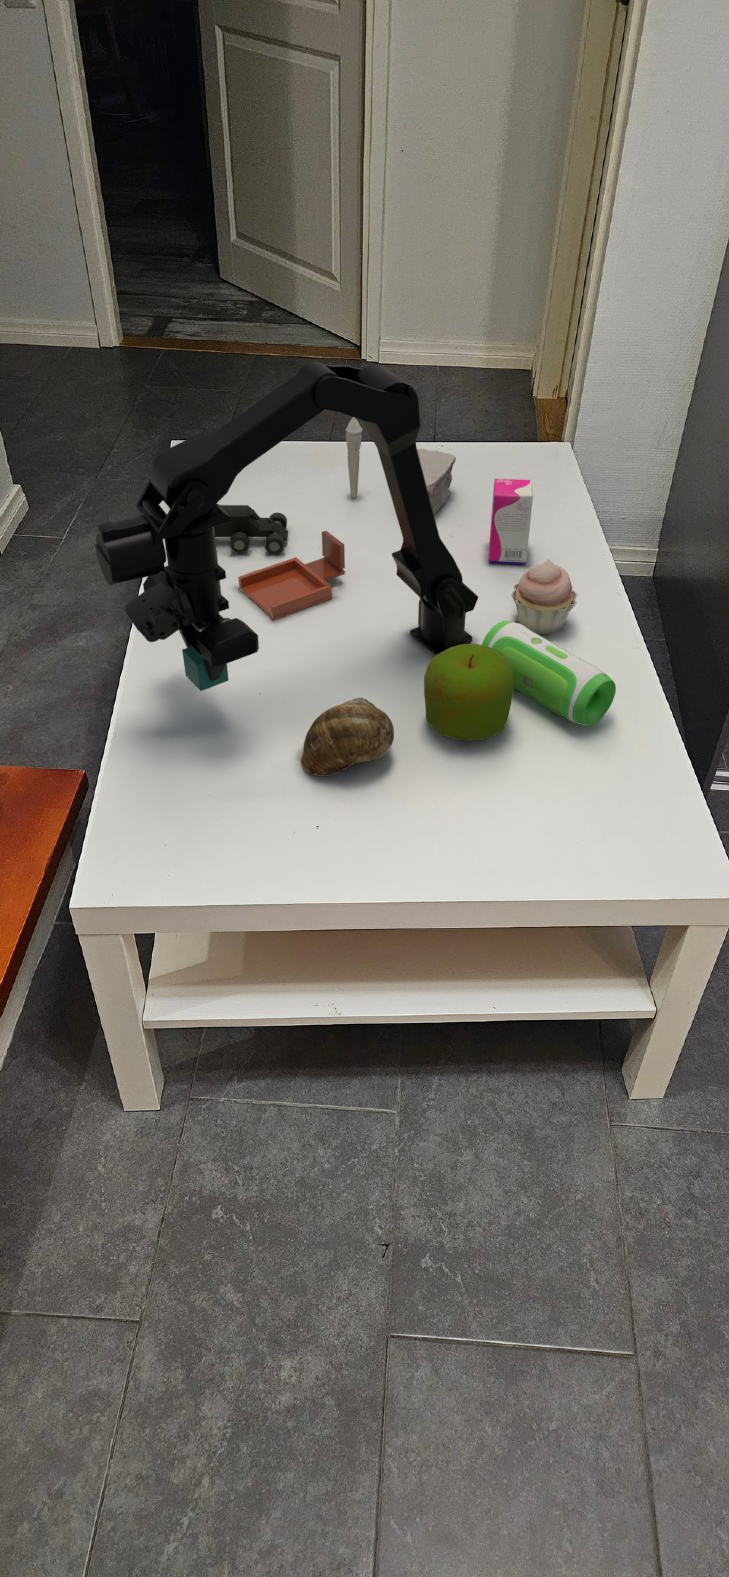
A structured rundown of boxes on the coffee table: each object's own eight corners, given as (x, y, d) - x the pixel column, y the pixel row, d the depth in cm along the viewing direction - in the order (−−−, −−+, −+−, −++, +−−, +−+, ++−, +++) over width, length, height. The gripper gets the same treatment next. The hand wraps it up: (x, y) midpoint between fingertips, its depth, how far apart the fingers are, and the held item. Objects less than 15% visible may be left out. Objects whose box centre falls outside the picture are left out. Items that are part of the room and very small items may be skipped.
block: (228, 680, 135) (226, 654, 132) (200, 691, 133) (197, 665, 130) (213, 665, 137) (210, 639, 134) (185, 675, 135) (181, 649, 133)
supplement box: (525, 546, 168) (533, 478, 161) (526, 566, 164) (533, 497, 156) (488, 545, 169) (494, 476, 161) (487, 564, 165) (493, 495, 157)
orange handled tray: (354, 590, 159) (354, 551, 155) (273, 620, 153) (270, 580, 149) (318, 561, 165) (317, 523, 161) (239, 589, 160) (235, 550, 155)
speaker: (474, 676, 143) (478, 629, 138) (511, 655, 147) (517, 608, 142) (576, 739, 134) (584, 691, 129) (613, 715, 137) (623, 667, 132)
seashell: (390, 732, 135) (391, 680, 129) (396, 781, 128) (397, 729, 123) (300, 735, 134) (297, 684, 129) (301, 785, 128) (298, 733, 122)
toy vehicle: (196, 528, 173) (190, 478, 167) (289, 529, 173) (286, 478, 167) (189, 555, 167) (183, 503, 161) (286, 555, 167) (283, 503, 161)
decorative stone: (449, 482, 185) (391, 481, 184) (453, 444, 180) (394, 443, 180) (459, 525, 174) (398, 524, 174) (463, 485, 170) (401, 485, 169)
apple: (485, 690, 141) (491, 620, 134) (525, 738, 134) (534, 667, 127) (408, 710, 138) (410, 639, 131) (444, 761, 131) (448, 689, 123)
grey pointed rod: (351, 492, 182) (350, 412, 172) (365, 496, 181) (365, 415, 171) (343, 498, 180) (342, 417, 171) (357, 502, 179) (356, 421, 170)
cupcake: (569, 604, 156) (578, 543, 149) (577, 641, 149) (587, 579, 143) (504, 604, 156) (511, 543, 150) (510, 641, 149) (517, 578, 143)
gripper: (94, 547, 126) (115, 656, 137) (165, 621, 115) (182, 733, 125) (179, 521, 131) (193, 628, 141) (256, 589, 119) (265, 700, 130)
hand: (206, 671), depth 134 cm, fingers closed on block, 4 cm apart
